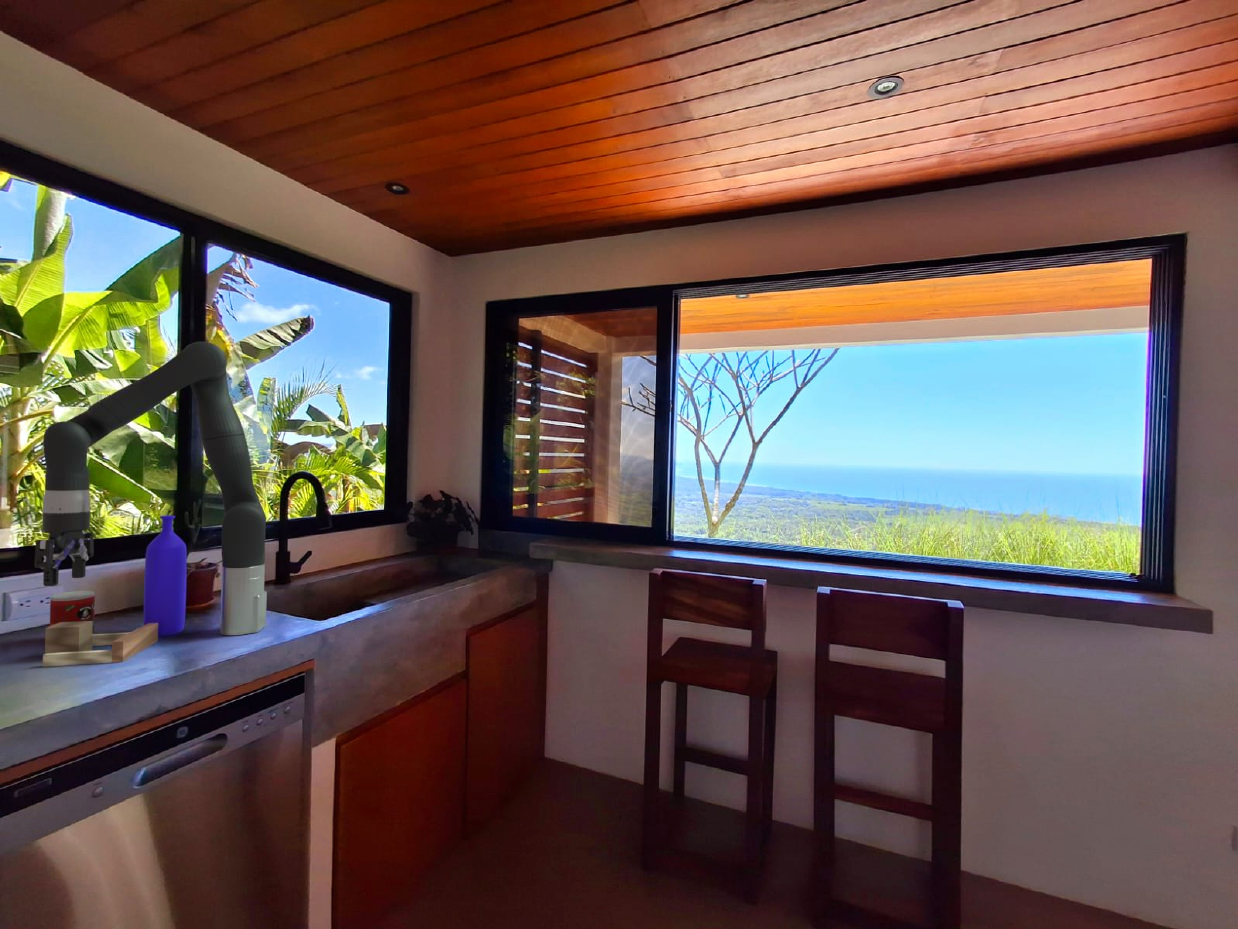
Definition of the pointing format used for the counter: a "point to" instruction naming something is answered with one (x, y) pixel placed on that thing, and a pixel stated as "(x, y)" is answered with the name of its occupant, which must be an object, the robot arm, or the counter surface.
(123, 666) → the counter surface
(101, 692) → the counter surface
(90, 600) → the canned food
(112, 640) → the channel
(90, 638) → the block
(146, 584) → the bottle
